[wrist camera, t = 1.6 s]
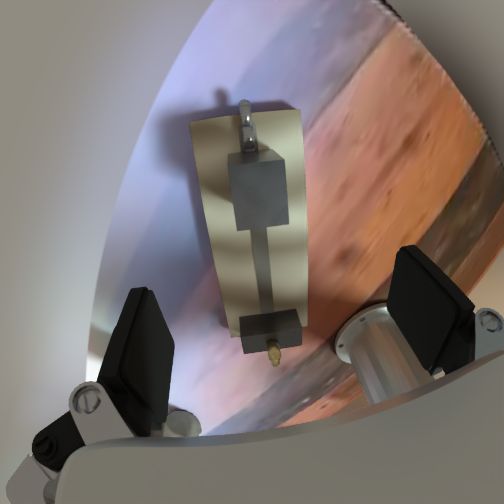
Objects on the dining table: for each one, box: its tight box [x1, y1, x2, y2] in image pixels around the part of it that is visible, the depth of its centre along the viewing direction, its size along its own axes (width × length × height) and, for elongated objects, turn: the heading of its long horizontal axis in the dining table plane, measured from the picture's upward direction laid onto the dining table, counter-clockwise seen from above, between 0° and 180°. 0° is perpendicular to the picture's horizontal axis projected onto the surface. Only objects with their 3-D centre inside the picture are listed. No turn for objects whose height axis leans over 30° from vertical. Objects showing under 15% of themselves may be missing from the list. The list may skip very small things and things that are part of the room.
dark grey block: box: [227, 99, 289, 231], centre depth 21 cm, size 10×4×6 cm, turn 6°
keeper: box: [239, 308, 302, 367], centre depth 32 cm, size 4×7×6 cm, turn 96°
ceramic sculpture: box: [163, 411, 202, 437], centre depth 45 cm, size 11×9×15 cm
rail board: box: [189, 109, 308, 338], centre depth 29 cm, size 26×10×2 cm, turn 6°
